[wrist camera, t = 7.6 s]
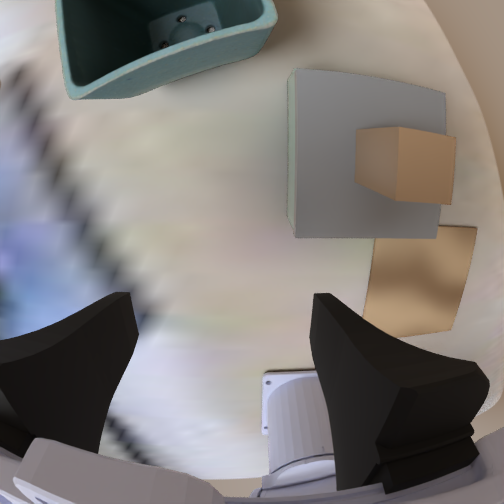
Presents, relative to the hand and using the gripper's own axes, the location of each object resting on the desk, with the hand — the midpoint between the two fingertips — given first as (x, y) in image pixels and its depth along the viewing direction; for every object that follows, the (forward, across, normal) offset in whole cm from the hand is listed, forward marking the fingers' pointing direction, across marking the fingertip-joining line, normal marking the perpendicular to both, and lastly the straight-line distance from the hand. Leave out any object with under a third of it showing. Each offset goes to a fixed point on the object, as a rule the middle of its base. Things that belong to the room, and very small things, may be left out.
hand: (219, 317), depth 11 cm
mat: (+10, -15, +4) cm, 18 cm away
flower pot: (+10, +3, -14) cm, 18 cm away
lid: (+6, -8, -6) cm, 12 cm away
